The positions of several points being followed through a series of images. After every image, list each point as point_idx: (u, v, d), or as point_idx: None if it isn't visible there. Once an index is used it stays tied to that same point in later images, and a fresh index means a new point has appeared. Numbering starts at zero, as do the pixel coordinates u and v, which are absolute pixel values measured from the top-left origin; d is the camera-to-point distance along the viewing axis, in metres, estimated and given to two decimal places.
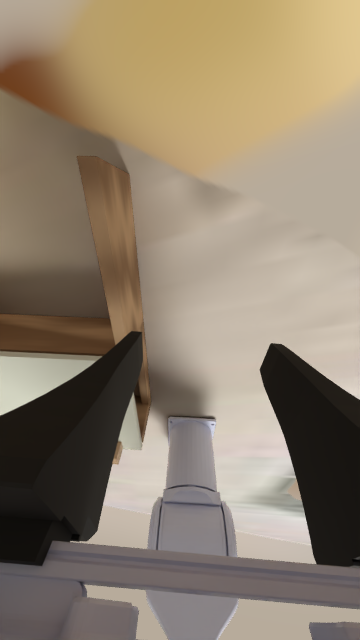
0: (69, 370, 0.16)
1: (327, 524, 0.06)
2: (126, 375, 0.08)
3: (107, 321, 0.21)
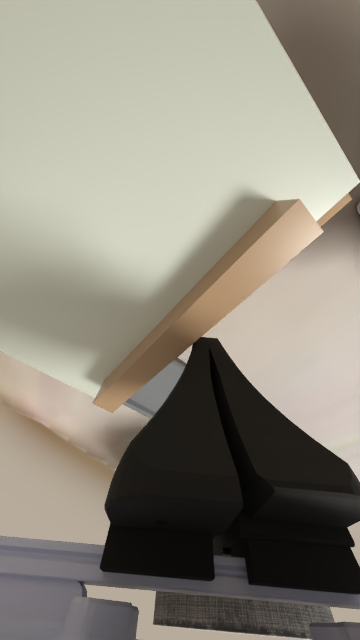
0: None
1: None
2: None
3: None
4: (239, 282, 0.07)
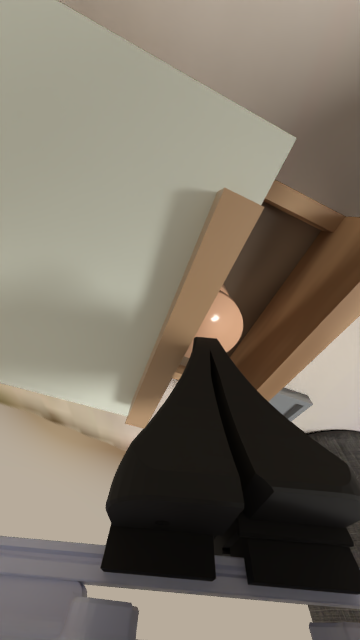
0: None
1: None
2: None
3: None
4: (204, 282, 0.07)
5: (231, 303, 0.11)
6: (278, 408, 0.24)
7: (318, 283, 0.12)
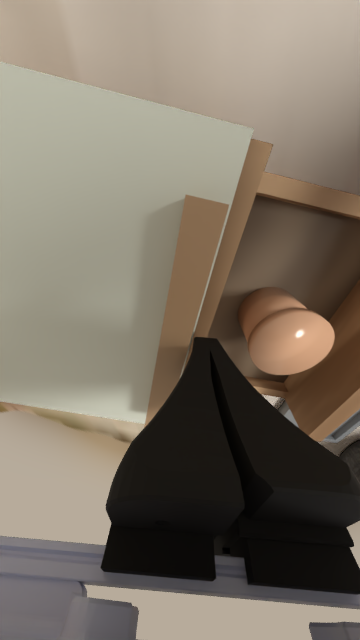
0: None
1: None
2: None
3: None
4: (187, 287, 0.07)
5: (323, 320, 0.12)
6: None
7: None
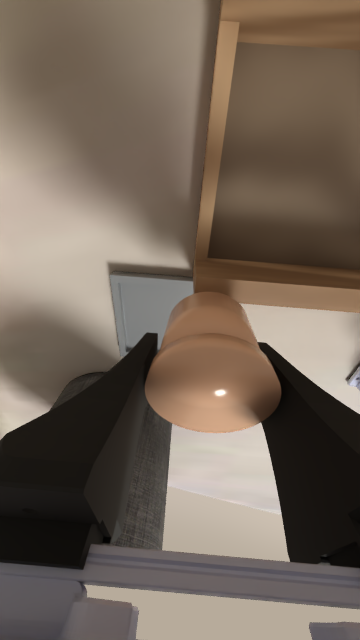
0: None
1: (299, 522, 0.06)
2: (145, 377, 0.08)
3: None
4: None
5: (260, 420, 0.08)
6: None
7: None
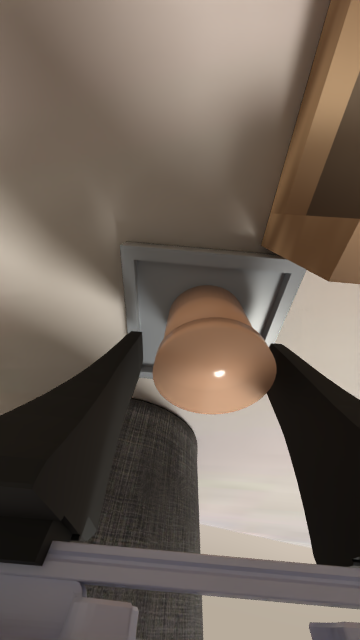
0: None
1: (327, 524, 0.06)
2: (126, 375, 0.08)
3: None
4: None
5: (257, 398, 0.09)
6: None
7: None
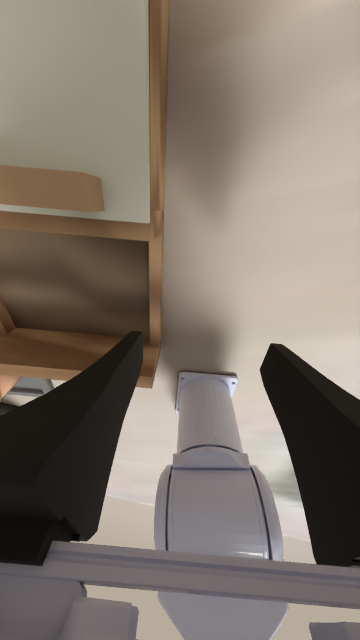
0: None
1: (327, 524, 0.06)
2: (126, 375, 0.08)
3: None
4: (17, 186, 0.08)
5: None
6: (27, 382, 0.27)
7: None
